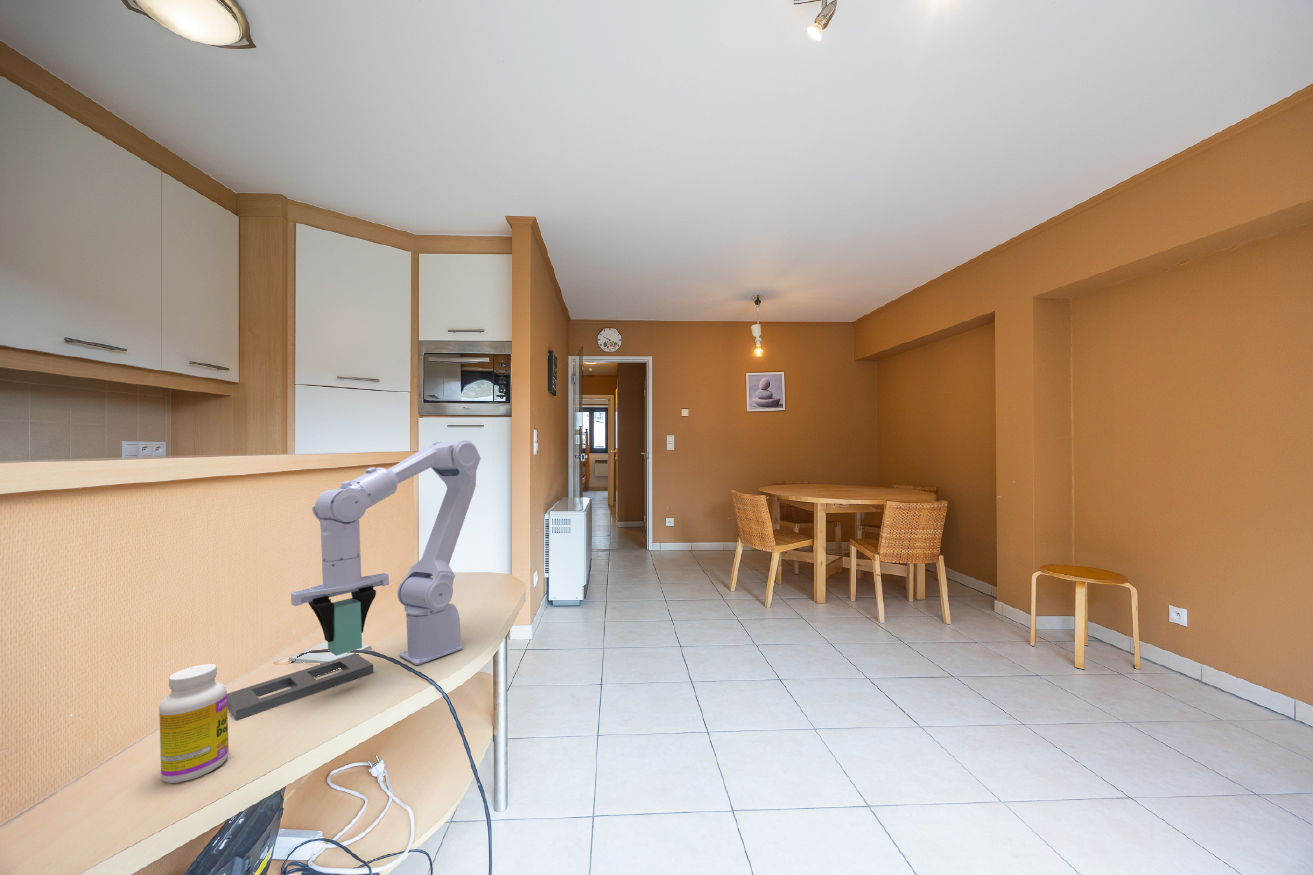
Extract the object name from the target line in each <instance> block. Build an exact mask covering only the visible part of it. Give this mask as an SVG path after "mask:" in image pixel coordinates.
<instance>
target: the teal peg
mask: <svg viewBox="0 0 1313 875" xmlns="http://www.w3.org/2000/svg"><path fill="white" fill-rule="evenodd" d="M332 603H334V610H333V631H334V639H333V641H331V642H328V641H327V642H328V651H330V652H331V653H333V654H334V655H336V656H337V655H340V654H343V653H347V652H350V651H353V650H356V649H360V648H362V645H363V638H362V637H363V636H362V634H363V633H362V631H361V602H360V601H358V600H355V599H353V598H352V597H351V598H346V599H342V600H337V601H334V602H332Z"/></svg>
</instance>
